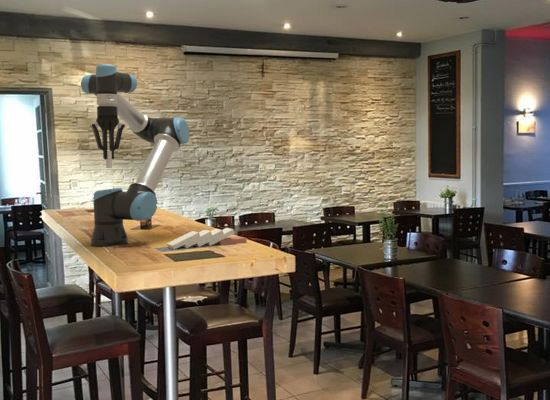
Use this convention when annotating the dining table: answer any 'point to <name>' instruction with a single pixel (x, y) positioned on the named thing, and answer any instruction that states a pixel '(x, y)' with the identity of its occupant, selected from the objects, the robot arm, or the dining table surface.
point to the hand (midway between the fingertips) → (109, 167)
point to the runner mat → (165, 249)
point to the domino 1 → (183, 240)
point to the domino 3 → (215, 234)
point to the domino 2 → (203, 235)
